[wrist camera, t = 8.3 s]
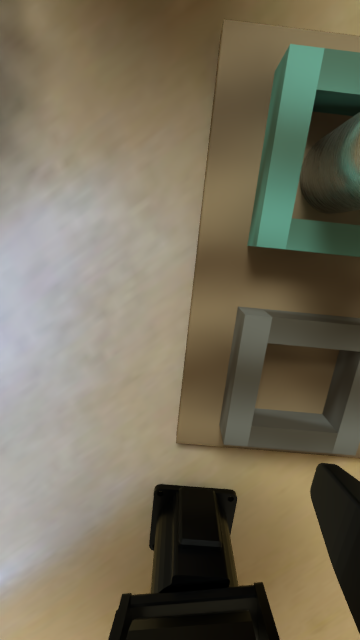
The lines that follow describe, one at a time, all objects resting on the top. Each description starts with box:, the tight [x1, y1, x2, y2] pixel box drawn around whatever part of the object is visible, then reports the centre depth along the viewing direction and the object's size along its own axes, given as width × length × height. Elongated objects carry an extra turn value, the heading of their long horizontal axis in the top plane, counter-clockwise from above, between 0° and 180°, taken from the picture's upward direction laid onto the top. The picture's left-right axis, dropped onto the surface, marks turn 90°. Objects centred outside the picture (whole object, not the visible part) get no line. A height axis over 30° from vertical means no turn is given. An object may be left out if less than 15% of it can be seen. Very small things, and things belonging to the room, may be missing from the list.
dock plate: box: [176, 19, 360, 458], centre depth 16 cm, size 24×14×3 cm, turn 174°
